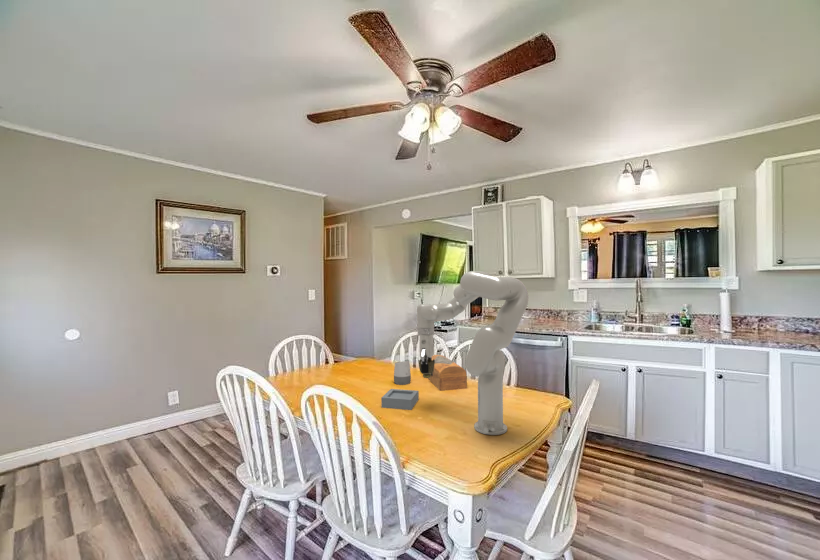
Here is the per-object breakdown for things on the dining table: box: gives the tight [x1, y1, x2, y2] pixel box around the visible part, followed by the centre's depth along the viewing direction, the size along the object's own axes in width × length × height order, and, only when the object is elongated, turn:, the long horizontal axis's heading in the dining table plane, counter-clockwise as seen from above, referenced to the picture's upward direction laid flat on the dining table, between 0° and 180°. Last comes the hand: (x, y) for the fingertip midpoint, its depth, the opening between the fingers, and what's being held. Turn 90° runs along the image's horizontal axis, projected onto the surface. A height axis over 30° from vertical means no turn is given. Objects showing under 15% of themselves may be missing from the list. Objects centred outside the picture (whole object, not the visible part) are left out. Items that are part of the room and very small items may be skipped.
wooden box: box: [427, 354, 468, 392], centre depth 206 cm, size 30×16×14 cm, turn 12°
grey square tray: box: [380, 388, 420, 411], centre depth 173 cm, size 14×14×5 cm
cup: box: [417, 358, 435, 379], centre depth 166 cm, size 8×7×8 cm
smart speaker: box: [393, 360, 412, 386], centre depth 205 cm, size 10×9×14 cm
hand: (426, 370), depth 167 cm, fingers closed on cup, 7 cm apart
